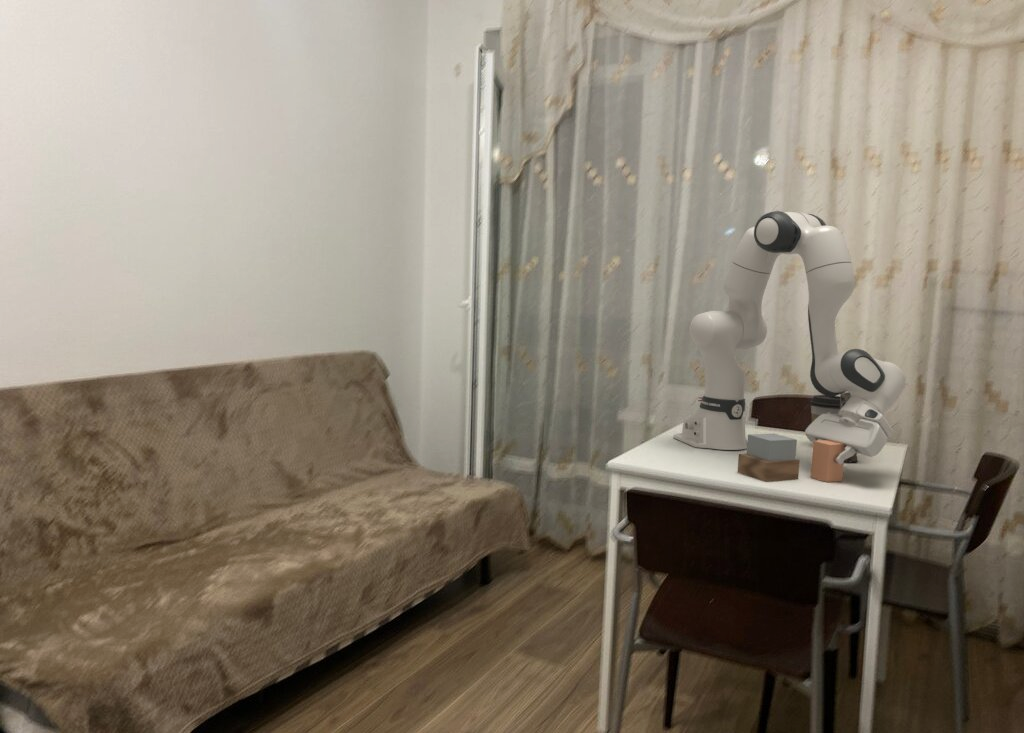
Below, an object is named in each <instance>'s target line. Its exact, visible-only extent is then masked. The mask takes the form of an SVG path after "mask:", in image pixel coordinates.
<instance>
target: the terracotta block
mask: <svg viewBox="0 0 1024 733" xmlns="http://www.w3.org/2000/svg"><path fill="white" fill-rule="evenodd" d="M812 444H813V445H812V453H813V454H811V455H812V458H811V459H812V460H811V470H810V478H813V479H815V480H818V481H821V482H825V483H834V482H841V481H843V472H844V463H845V462H844V461H843V463H842V464H837V463H835V461H834V460H833V458H834V457H835V455H836V454H840V453H842V452H843V451H845V444H841V443H837V442H833V441H829V440H820V441H814V442H812Z"/></svg>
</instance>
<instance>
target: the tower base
mask: <svg viewBox="0 0 1024 733" xmlns="http://www.w3.org/2000/svg"><path fill="white" fill-rule="evenodd" d="M737 459H738V460H737V461H738V462H737V473H738V474H741V475H744V476H747V477H750V478H753V479H756V480H759V481H762V482H765V483H772V482H782V481H784V482H785V481H793V480H795V481H796V480H799V473H800V459H797V458H796V459H795V460H789V461H770V462H768V461H765V460H762V459H759V458H756V457H753V456H749V455H747V452H745V453H738V458H737Z"/></svg>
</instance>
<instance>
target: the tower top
mask: <svg viewBox="0 0 1024 733" xmlns="http://www.w3.org/2000/svg"><path fill="white" fill-rule="evenodd" d="M797 445H798V440H797V439H796V438H792V437H788V436H785V435H782V434H777V433H755V434H754V433H753V434H752V433H751V434H747V445H746V446H747V448H746V453H747V455H749V456H753V457H756V458H759V459H762V460H765V461H768V462H770V461H789V460H795V459H797V458H796V455H797Z"/></svg>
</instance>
